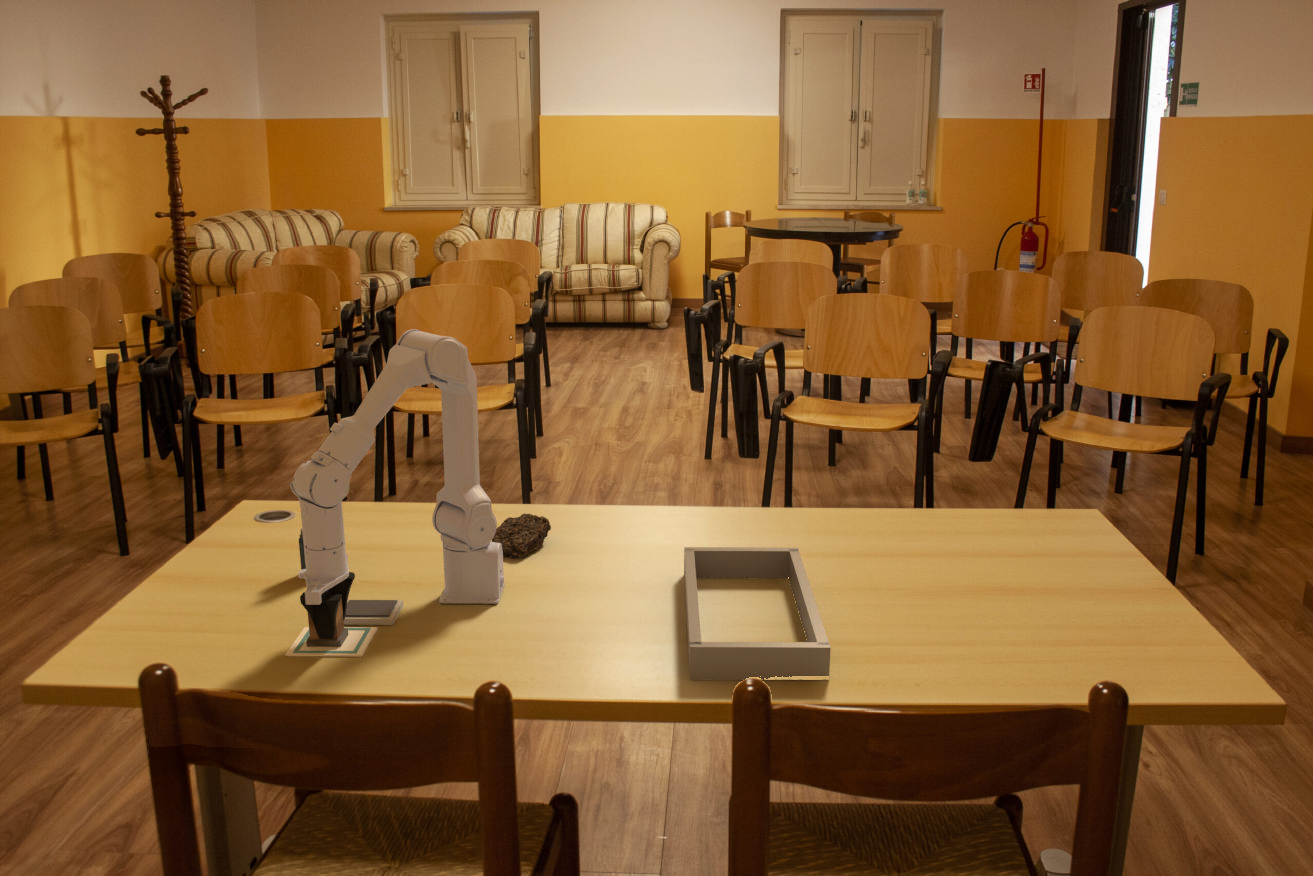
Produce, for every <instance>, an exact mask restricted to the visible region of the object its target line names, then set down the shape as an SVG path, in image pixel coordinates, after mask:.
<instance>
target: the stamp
mask: <svg viewBox="0 0 1313 876" xmlns="http://www.w3.org/2000/svg"><path fill="white" fill-rule="evenodd" d="M307 620H308V627H309V634H310V635H309V637H308V638H307V640H306V645H307V647H341V646H342V644H343V643H344V641H345V639H346V638H347V636H348V628H344V627H345V625H344V622H343V609H342V597H341V599H340V602H339V605H338V609H337V615H336V630H335V635H334V638H333V639H319V637H318V635H317V632H316V629H315V627H314V624H313V621H312V619H311V617H310V615H309V613H308V612H307Z"/></svg>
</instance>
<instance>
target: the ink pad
mask: <svg viewBox="0 0 1313 876" xmlns="http://www.w3.org/2000/svg"><path fill="white" fill-rule="evenodd" d="M403 608H404V599H348V601H347V608H346V615H345V620H344V626H345V625H346V626H348V625H349V626H351V625H352V626H354V625H355V626H357V625H359V626H361V625H362V626H365V625H366V626H367V625H368V626H379V625H380V626H393V625H394V624H395V622H396V620H397V618H398V617H399V614H400V613H401V612H402V610H403Z"/></svg>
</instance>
